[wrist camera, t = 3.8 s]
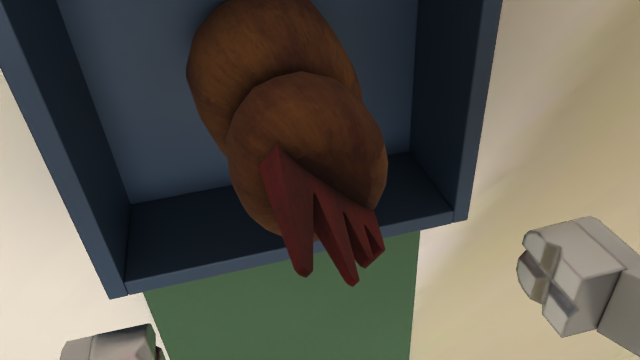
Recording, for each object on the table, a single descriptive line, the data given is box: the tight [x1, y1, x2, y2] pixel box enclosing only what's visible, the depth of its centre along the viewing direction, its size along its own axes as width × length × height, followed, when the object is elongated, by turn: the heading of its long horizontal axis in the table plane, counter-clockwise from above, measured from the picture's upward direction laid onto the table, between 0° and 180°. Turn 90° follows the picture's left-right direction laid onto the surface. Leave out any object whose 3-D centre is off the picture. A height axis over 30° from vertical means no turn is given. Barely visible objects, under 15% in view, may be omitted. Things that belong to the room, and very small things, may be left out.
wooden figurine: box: [186, 0, 388, 287], centre depth 16 cm, size 7×6×15 cm
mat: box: [143, 231, 420, 360], centre depth 34 cm, size 17×20×1 cm
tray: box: [0, 0, 503, 299], centre depth 20 cm, size 17×16×6 cm
